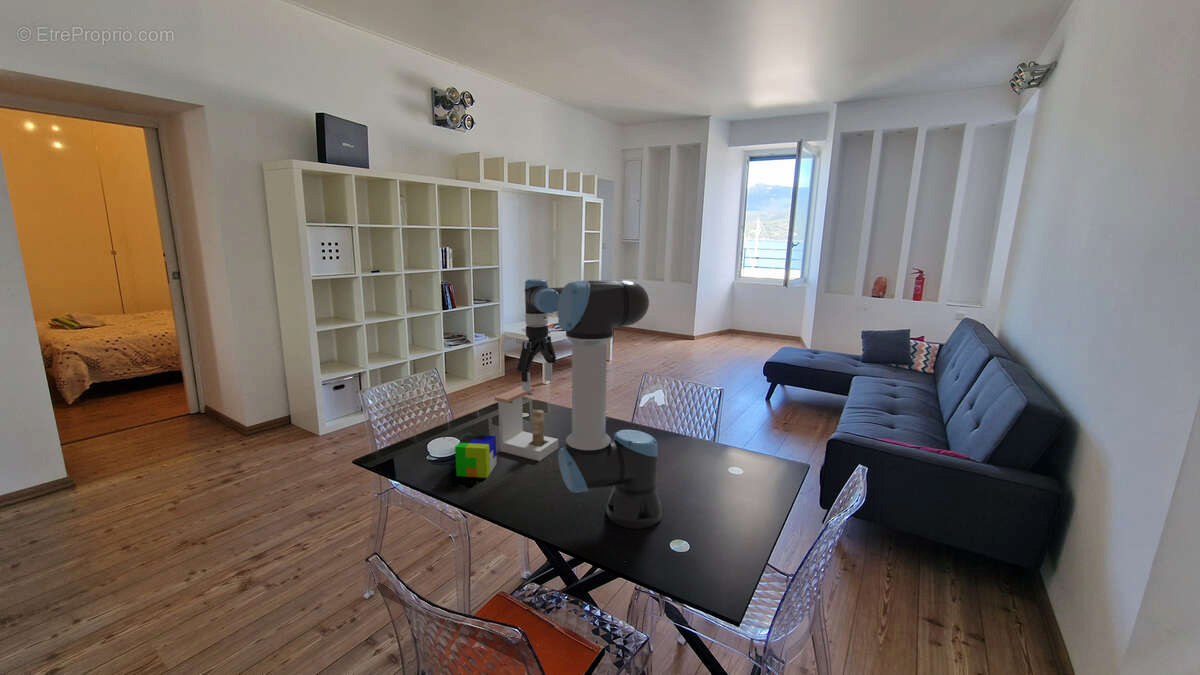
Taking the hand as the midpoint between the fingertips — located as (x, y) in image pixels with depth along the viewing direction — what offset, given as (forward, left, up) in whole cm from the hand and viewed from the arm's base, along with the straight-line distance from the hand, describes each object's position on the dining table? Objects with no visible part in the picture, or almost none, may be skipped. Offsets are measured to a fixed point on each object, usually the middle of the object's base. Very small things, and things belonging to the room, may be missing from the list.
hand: (537, 385), depth 170 cm
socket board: (0, +4, -25) cm, 25 cm away
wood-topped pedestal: (0, +10, -21) cm, 23 cm away
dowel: (0, 0, -25) cm, 25 cm away
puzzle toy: (-21, +10, -25) cm, 34 cm away
